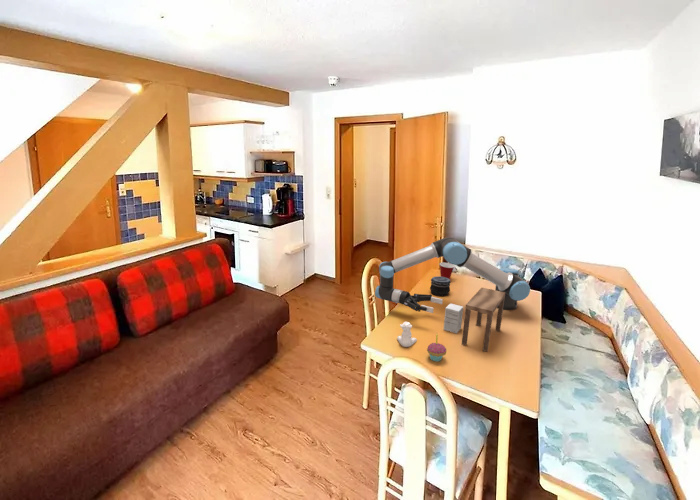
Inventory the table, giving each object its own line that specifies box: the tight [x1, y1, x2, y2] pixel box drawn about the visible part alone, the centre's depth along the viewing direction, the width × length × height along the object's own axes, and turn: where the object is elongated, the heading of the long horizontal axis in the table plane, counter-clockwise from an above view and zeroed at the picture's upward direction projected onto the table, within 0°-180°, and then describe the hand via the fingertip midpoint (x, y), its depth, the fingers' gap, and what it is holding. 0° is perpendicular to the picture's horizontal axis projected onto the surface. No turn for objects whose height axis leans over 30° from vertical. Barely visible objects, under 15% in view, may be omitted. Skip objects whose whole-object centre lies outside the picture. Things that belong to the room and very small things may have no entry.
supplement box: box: [443, 303, 464, 334], centre depth 198 cm, size 7×7×13 cm
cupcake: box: [426, 333, 447, 362], centre depth 170 cm, size 9×8×12 cm
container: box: [429, 275, 452, 297], centre depth 247 cm, size 13×13×10 cm
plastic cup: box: [439, 262, 456, 280], centre depth 271 cm, size 11×11×12 cm
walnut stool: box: [461, 287, 505, 353], centre depth 189 cm, size 12×28×21 cm, turn 147°
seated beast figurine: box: [396, 321, 418, 348], centre depth 182 cm, size 10×9×12 cm
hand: (437, 306), depth 202 cm, fingers open, 13 cm apart
